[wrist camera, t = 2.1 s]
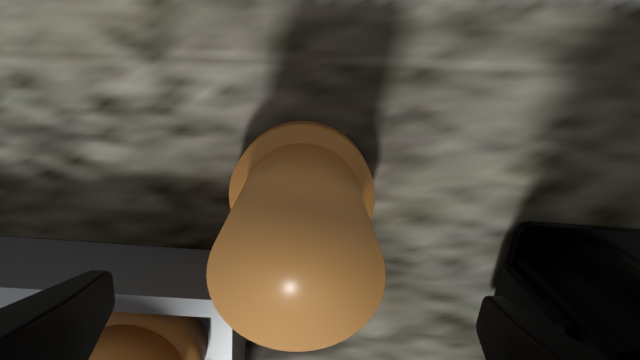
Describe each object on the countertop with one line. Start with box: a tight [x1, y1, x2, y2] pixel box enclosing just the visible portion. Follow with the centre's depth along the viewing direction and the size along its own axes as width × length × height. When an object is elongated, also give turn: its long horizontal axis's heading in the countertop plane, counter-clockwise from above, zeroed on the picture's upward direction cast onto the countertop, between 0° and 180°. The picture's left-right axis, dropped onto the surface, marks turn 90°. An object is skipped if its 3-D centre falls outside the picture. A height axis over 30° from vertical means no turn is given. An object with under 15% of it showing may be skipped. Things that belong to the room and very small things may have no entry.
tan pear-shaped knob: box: [206, 120, 386, 352], centre depth 13 cm, size 6×6×7 cm
